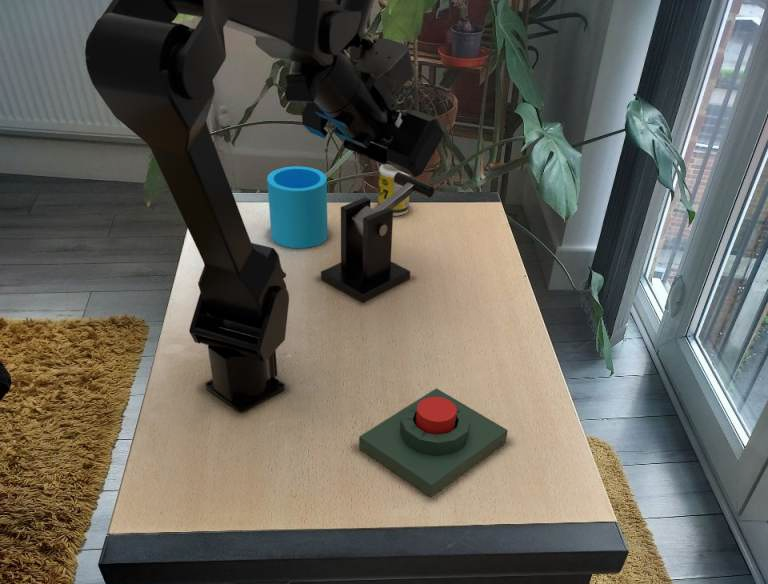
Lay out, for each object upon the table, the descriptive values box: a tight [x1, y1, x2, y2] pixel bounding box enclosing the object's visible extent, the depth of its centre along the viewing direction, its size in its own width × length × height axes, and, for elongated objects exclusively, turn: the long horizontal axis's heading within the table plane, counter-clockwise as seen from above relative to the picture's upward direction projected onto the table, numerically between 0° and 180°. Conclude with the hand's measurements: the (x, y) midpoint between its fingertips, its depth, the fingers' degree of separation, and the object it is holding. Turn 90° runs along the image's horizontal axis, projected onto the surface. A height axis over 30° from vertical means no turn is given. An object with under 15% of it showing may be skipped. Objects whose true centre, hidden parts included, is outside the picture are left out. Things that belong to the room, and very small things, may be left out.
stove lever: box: [352, 172, 435, 237], centre depth 101 cm, size 11×6×2 cm, turn 136°
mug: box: [266, 165, 329, 249], centre depth 112 cm, size 12×8×8 cm
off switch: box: [358, 388, 509, 498], centre depth 81 cm, size 12×10×4 cm
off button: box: [416, 397, 457, 435], centre depth 79 cm, size 4×4×2 cm
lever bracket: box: [320, 196, 411, 303], centre depth 102 cm, size 9×8×10 cm
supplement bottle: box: [377, 164, 412, 217], centre depth 118 cm, size 5×5×8 cm
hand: (401, 162), depth 99 cm, fingers closed
